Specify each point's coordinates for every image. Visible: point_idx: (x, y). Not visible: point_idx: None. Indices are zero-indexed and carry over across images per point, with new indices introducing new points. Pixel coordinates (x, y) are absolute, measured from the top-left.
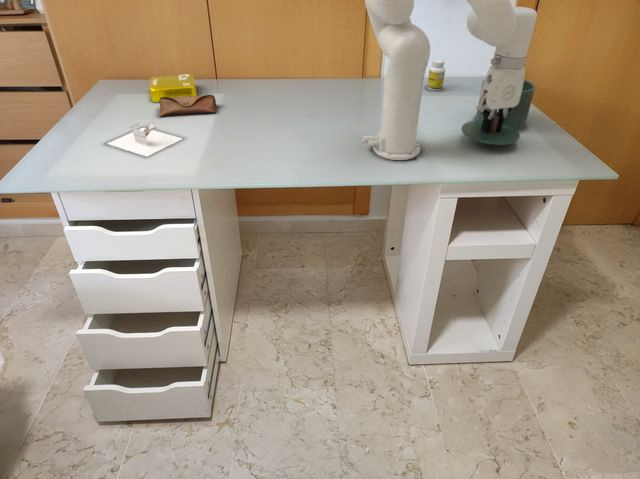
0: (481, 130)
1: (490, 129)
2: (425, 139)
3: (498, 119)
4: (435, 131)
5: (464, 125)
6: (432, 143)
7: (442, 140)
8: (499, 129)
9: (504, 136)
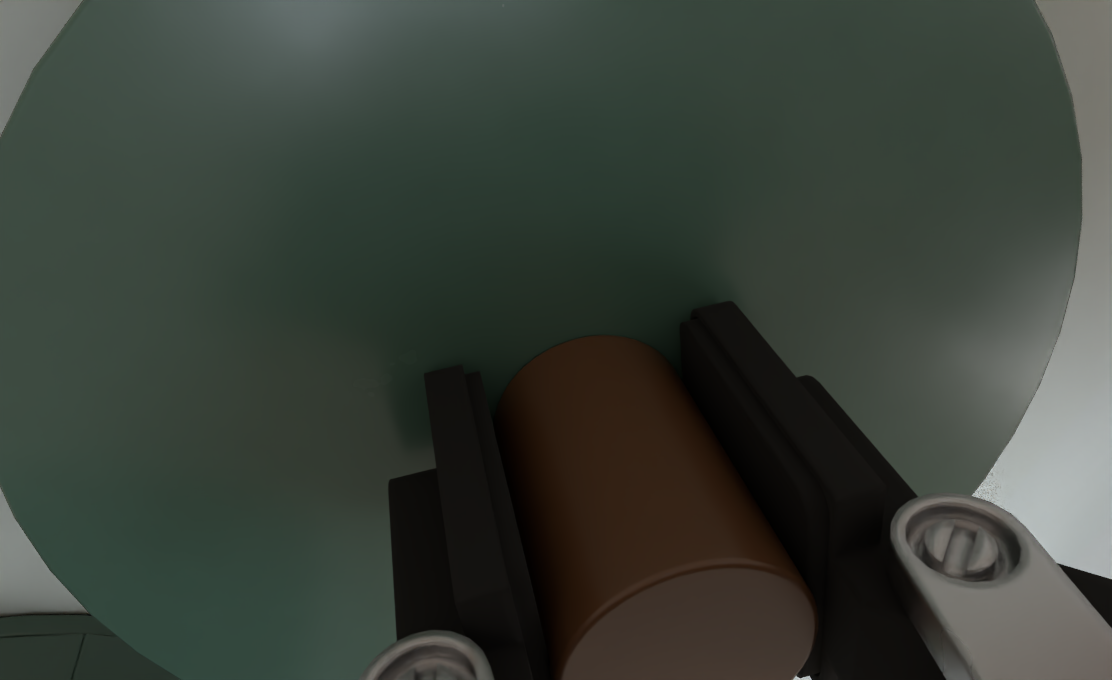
0: None
1: (734, 346)
2: (1085, 467)
3: (621, 554)
4: None
5: None
6: (1101, 380)
7: None
8: (469, 394)
9: (443, 150)
